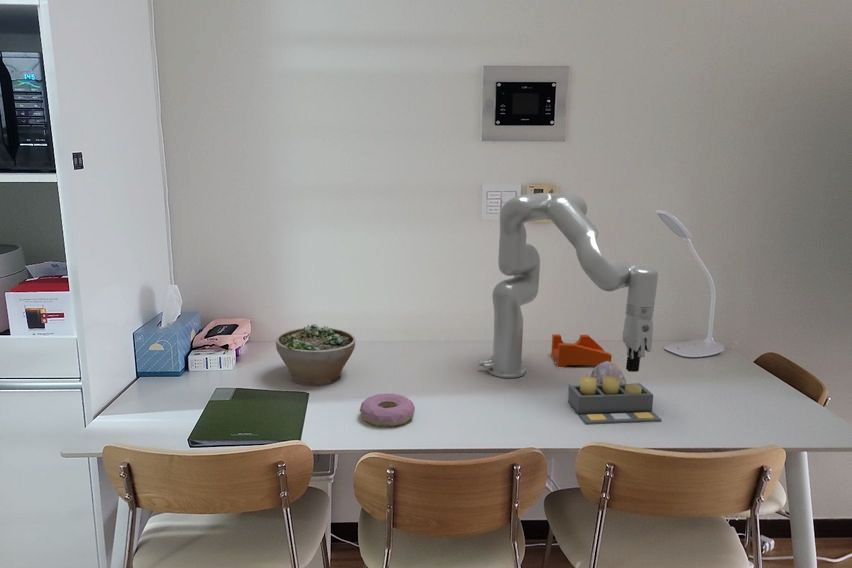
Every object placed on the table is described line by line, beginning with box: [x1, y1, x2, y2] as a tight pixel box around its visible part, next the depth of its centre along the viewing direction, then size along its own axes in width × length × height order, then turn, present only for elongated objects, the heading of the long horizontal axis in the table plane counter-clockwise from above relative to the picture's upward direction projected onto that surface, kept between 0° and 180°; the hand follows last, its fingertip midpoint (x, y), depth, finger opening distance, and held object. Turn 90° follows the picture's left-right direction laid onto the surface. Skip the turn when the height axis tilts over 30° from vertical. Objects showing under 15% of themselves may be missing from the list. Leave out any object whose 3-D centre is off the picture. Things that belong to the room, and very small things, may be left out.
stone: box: [590, 361, 627, 385], centre depth 214 cm, size 17×10×10 cm
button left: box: [579, 375, 597, 396], centre depth 194 cm, size 5×5×5 cm
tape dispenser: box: [550, 333, 613, 368], centre depth 235 cm, size 18×13×8 cm
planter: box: [275, 323, 356, 387], centre depth 216 cm, size 26×25×15 cm
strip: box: [578, 411, 662, 425], centre depth 189 cm, size 22×5×1 cm, turn 97°
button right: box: [625, 383, 642, 394], centre depth 196 cm, size 5×5×5 cm
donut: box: [359, 393, 416, 428], centre depth 187 cm, size 16×15×5 cm
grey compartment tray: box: [567, 383, 654, 416], centre depth 196 cm, size 22×9×6 cm, turn 97°
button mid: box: [602, 375, 620, 395], centre depth 195 cm, size 5×5×5 cm
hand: (632, 370), depth 195 cm, fingers closed
